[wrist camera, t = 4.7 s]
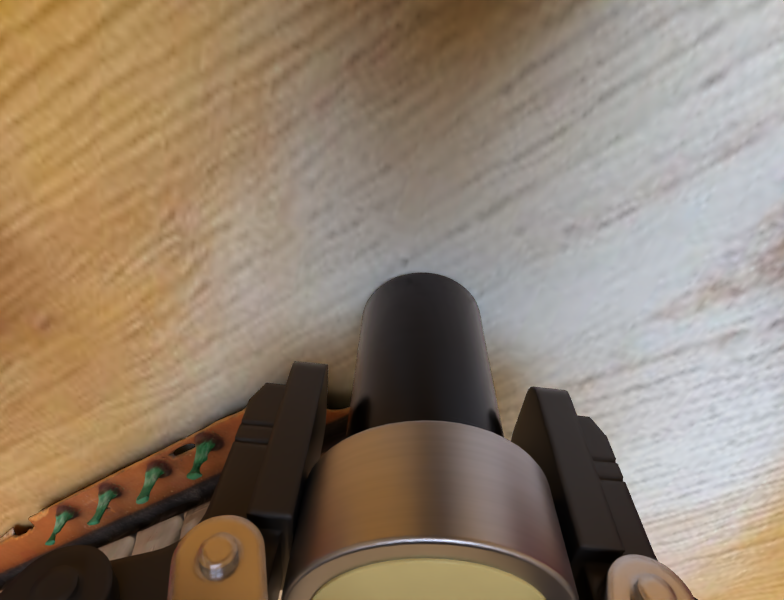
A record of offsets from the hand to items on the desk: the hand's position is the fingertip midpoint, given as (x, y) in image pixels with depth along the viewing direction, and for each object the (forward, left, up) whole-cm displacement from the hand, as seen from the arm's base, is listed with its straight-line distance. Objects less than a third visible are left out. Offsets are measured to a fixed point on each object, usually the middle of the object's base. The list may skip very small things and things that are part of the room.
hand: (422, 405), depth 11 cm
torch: (0, 0, -3) cm, 3 cm away
